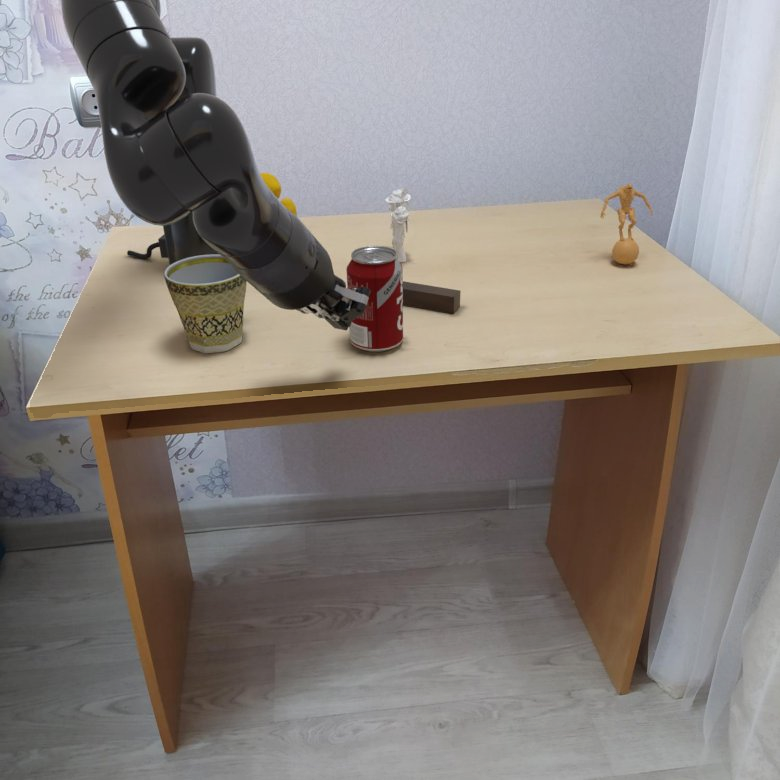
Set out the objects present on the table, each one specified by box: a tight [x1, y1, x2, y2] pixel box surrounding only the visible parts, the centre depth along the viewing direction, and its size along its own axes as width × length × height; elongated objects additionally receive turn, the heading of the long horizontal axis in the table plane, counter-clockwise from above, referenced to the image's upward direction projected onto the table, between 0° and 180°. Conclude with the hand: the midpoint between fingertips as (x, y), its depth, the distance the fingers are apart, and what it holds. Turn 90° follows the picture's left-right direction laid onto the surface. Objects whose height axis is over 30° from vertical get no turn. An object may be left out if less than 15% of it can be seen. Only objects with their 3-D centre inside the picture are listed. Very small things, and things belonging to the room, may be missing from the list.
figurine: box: [600, 183, 654, 266], centre depth 118 cm, size 8×6×12 cm
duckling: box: [260, 172, 298, 217], centre depth 133 cm, size 11×5×10 cm, turn 51°
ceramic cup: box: [163, 254, 248, 354], centre depth 98 cm, size 13×10×10 cm
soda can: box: [346, 245, 404, 353], centre depth 95 cm, size 7×7×12 cm
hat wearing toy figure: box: [385, 187, 412, 263], centre depth 121 cm, size 9×4×12 cm, turn 4°
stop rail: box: [403, 280, 461, 315], centre depth 108 cm, size 12×2×2 cm, turn 65°
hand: (344, 321), depth 88 cm, fingers closed
